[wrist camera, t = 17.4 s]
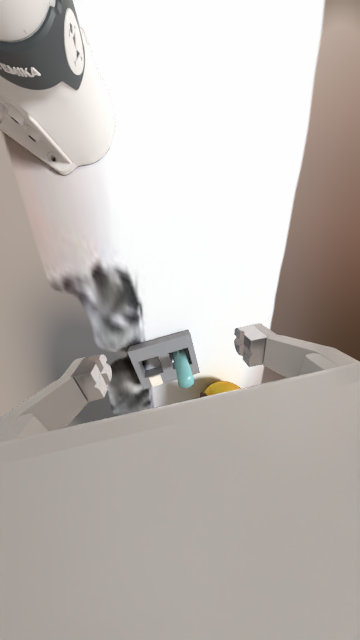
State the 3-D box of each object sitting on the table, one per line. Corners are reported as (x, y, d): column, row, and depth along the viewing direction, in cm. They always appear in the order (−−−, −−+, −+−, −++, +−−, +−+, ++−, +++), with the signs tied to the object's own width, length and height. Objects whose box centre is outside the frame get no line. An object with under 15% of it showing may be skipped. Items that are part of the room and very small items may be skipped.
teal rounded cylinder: (171, 356, 44) (175, 386, 32) (175, 346, 43) (181, 373, 32) (182, 359, 45) (190, 389, 33) (186, 349, 44) (196, 377, 32)
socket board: (129, 346, 41) (127, 352, 38) (188, 329, 42) (190, 334, 39) (144, 382, 45) (143, 390, 42) (197, 366, 46) (199, 373, 43)
